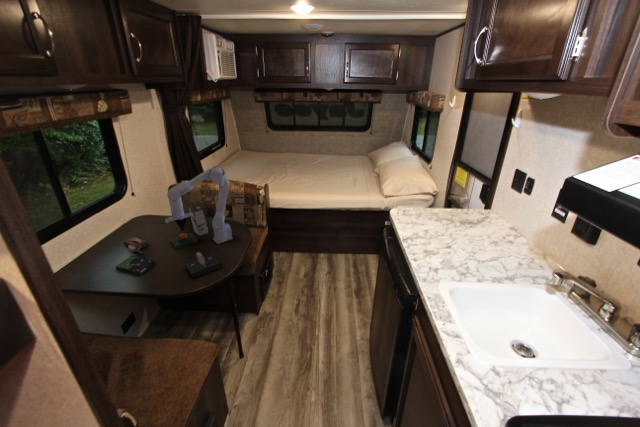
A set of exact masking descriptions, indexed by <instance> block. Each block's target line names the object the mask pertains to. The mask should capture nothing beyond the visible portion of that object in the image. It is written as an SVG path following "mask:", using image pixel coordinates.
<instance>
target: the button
mask: <svg viewBox="0 0 640 427" xmlns="http://www.w3.org/2000/svg"><path fill="white" fill-rule="evenodd" d="M187 234H188V233H187V232H182V233H180V234H178V236H180V238H181V239H184V238H186V237H187Z"/></svg>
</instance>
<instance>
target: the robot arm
mask: <svg viewBox="0 0 640 427" xmlns="http://www.w3.org/2000/svg"><path fill="white" fill-rule="evenodd" d="M204 181H208V182H210V181H212V182H213V183H215V184H217V185H218V186H219V190H218V191H219V192H218V197H217V204H216V209H215V213H214V215H213V220H212V221H211V226H212V229H213V236H214V237H212V240H213V241H214V242H215V243H216V244H217V245H219V244H222V243H225V242H228V241H231V240H233V239H234V237H233V234H232V233H233V232H232V228H231V225H230V224H229V223H225V220H226V215H225V212H226V211H225V210H226V205H227V199H228V194H229V189H230V180H229V179H228V176H227V174H226V171H225V170H224V169H223V168H222V167H221V166H219V165H214V166H213V167H209V168H208V169H206V170H204V171H203V172H201V173H199V174H198V175H197V176H195V177H193V178H192V179H190V180H181V181H180V183H179V184H177V185H174V186H173V187H171V188H170V189H169V190H168V192H167V198H168V199H169V202H170V207H171V211H172V212H171V213H172V216H169V217H167V218H165V219H164V221H165V223H166V224H169V223H171V222H175V223H176V225H177V226H178V228H179V230H180V231H181V232H185V226H186V222H187V219H186V218H189V217H190V218H191V216H193V213H192V212H190V211H189V212H185V209H184V205H183V200H182V196H184V195H185V194H187V193H189V192H191V191H192V190H193V189H194V186H196V185H198V184H200V183H202V182H204Z"/></svg>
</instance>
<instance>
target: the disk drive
mask: <svg viewBox="0 0 640 427" xmlns="http://www.w3.org/2000/svg"><path fill="white" fill-rule="evenodd" d="M155 265H156V261H155V260H153V259H149V258H144V257H141V256H136V255H135V256H134V255H131V256H129V257H128V258H126V259H124V260H123V261H122V262H120V263H119V264H116V265H115V267H114V268H115V270H116V271H118V272H122V273H125V274H130V275H134V276H138V277H139V276H141V275H143V274H144V273H145V272H147V271H149V270H150V269H151V268H153V267H154V266H155Z"/></svg>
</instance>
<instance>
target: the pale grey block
mask: <svg viewBox="0 0 640 427" xmlns="http://www.w3.org/2000/svg"><path fill="white" fill-rule="evenodd" d="M195 256H196V260H198V261H199V262H200V264H201V265H203V264H205V260H204V257H205V256H204V255H203V254H202V253H201V252H200V251H197V252H196V253H195Z"/></svg>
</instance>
